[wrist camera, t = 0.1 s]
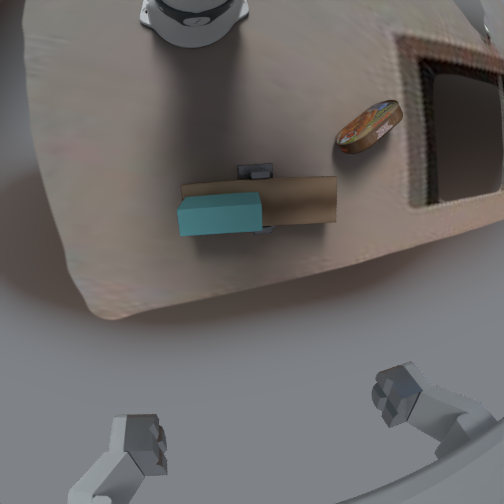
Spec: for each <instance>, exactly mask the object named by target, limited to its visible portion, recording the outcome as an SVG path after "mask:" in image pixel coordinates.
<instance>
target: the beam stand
mask: <svg viewBox="0 0 504 504" xmlns="http://www.w3.org/2000/svg"><path fill="white" fill-rule="evenodd" d="M322 177H323V176H322ZM256 178H263V179H266V178H273V166H272V163H266V164H252V165H240V166H238V180H247V179H256ZM262 228H263V231H253V232H254V234H262V233H271V232H272V229H274V228H275V226H263V227H262Z"/></svg>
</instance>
